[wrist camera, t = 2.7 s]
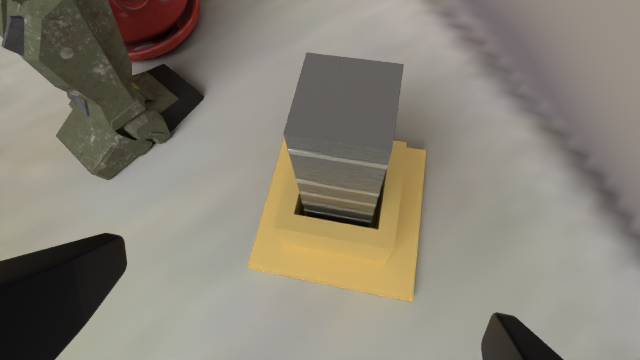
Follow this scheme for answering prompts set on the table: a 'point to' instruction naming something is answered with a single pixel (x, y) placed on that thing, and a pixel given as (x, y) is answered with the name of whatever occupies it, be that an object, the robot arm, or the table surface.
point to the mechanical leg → (96, 80)
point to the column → (342, 135)
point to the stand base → (346, 233)
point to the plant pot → (154, 24)
